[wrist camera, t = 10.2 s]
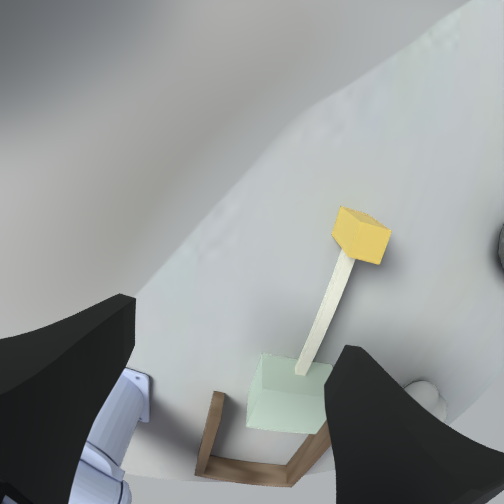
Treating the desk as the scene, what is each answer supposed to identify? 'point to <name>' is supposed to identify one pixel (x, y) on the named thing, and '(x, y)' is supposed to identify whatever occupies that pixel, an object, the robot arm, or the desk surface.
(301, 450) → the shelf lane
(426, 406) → the smooth white sculpture
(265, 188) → the desk surface
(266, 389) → the tethered block
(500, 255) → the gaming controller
